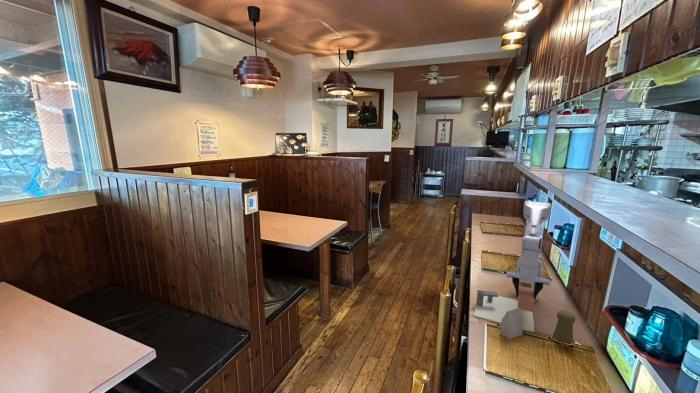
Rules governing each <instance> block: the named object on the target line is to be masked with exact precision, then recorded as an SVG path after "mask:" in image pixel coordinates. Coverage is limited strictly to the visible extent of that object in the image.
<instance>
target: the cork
mask: <svg viewBox="0 0 700 393" xmlns="http://www.w3.org/2000/svg"><path fill="white" fill-rule="evenodd" d="M556 317H557V321H556V325H555V327H554V331H553V335H552V337H553V338H554V339H555V340H557V341H559V342H562V343H567V344H571V343H573V344H574V328H573V326H574V324H575V323H576V316H575V314H573V313H572V312H571V311H568V310H559V311H558V312H557V313H556ZM553 338H552V339H553Z"/></svg>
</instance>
